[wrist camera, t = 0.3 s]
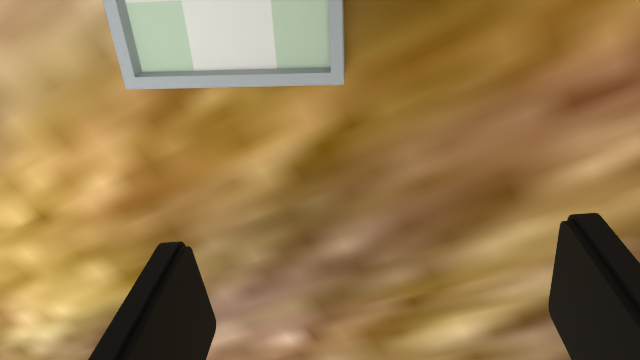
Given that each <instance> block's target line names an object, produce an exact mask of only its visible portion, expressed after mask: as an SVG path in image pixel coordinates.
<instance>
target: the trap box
mask: <svg viewBox="0 0 640 360" xmlns="http://www.w3.org/2000/svg"><path fill="white" fill-rule="evenodd" d="M103 4H104V8H105V11H106V15H107V19H108V23H109V27H110V30H111V34H112V38H113V42H114V46H115V50H116V53H117V57H118V61H119V65H120V69H121V72H122V76H123V80H124V84H125V88H126V89H169V88H216V87H262V86H309V85H344V76H345V48H344V0H103Z"/></svg>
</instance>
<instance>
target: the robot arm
mask: <svg viewBox="0 0 640 360" xmlns="http://www.w3.org/2000/svg"><path fill="white" fill-rule="evenodd" d="M549 312H550V316H551V318H552V320H553V322H554V325H555V327H556V329H557V331H558V333H559V335H560V337H561V339H562V341H563V343H564V345H565V347H566V349H567V351H568V353H569V355H570V357H571V359H572V360H640V263H639V262H638V261H637V260H636V258H635V257H634V256H633V255H632V253H631V252H630V251H629V250H628V249H627V247H626V246H625V245H624V244H623V243H622V241H621V240H620V239H619V238H618V236H617V235H616V234H615V233H614V232H613V230H612V229H611V228H610V227H609V226H608V224H607V223H606V222H605V221H604V219H603V218H602V217H601V216H600V215H599V214H597V213H587V214H573V215H570V216H569V217H568V220H567V221H563V222H561V224H560V229H559V236H558V242H557V249H556V256H555V263H554V270H553V276H552V283H551V290H550V297H549ZM215 330H216V319H215V316H214V313H213V310H212V307H211V304H210V301H209V298H208V295H207V292H206V289H205V286H204V283H203V280H202V277H201V274H200V272H199V269H198V266H197V263H196V260H195V257H194V254H193V251H192V249H191V248H190V247H189V246H188V247H186V246H185V244H184V243H183V242H167V243H160V244H159V245H158V246H157V248H156V249H155V251H154V253H153V254H152V256H151V258H150V259H149V261H148V263H147V264H146V266H145V268H144V269H143V271H142V272H141V274H140V276H139V277H138V279H137V281H136V282H135V284H134V286H133V287H132V289H131V291H130V292H129V294H128V295H127V297H126V299H125V300H124V302H123V304H122V305H121V307H120V309H119V310H118V312H117V313H116V315H115V317H114V318H113V320H112V322H111V323H110V325H109V327H108V328H107V330H106V332H105V333H104V335H103V336H102V338H101V340H100V341H99V343H98V345H97V346H96V348H95V350H94V351H93V353H92V354H91V356H90V358H89V359H88V360H206V357H207V355H208V352H209V349H210V346H211V343H212V340H213V337H214V334H215Z"/></svg>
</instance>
